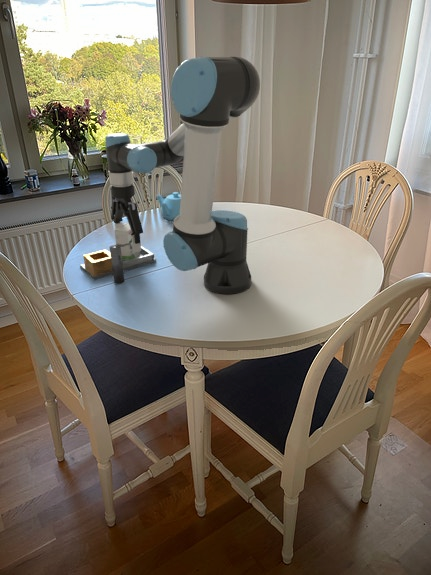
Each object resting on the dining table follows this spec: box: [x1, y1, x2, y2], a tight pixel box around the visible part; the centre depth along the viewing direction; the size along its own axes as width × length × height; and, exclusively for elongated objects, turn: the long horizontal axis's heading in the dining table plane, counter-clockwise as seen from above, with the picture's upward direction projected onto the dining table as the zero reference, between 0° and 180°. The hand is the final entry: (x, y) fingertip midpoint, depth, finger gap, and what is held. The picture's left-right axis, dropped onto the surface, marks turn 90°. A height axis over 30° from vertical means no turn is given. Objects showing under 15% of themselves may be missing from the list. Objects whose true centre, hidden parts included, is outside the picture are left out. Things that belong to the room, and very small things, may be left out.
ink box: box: [114, 222, 140, 262], centre depth 154 cm, size 9×5×12 cm, turn 166°
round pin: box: [109, 244, 126, 285], centre depth 141 cm, size 3×3×12 cm
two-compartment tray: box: [79, 245, 157, 281], centre depth 154 cm, size 12×23×5 cm, turn 126°
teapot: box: [156, 191, 181, 221], centre depth 197 cm, size 15×15×11 cm
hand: (128, 245), depth 154 cm, fingers open, 12 cm apart
